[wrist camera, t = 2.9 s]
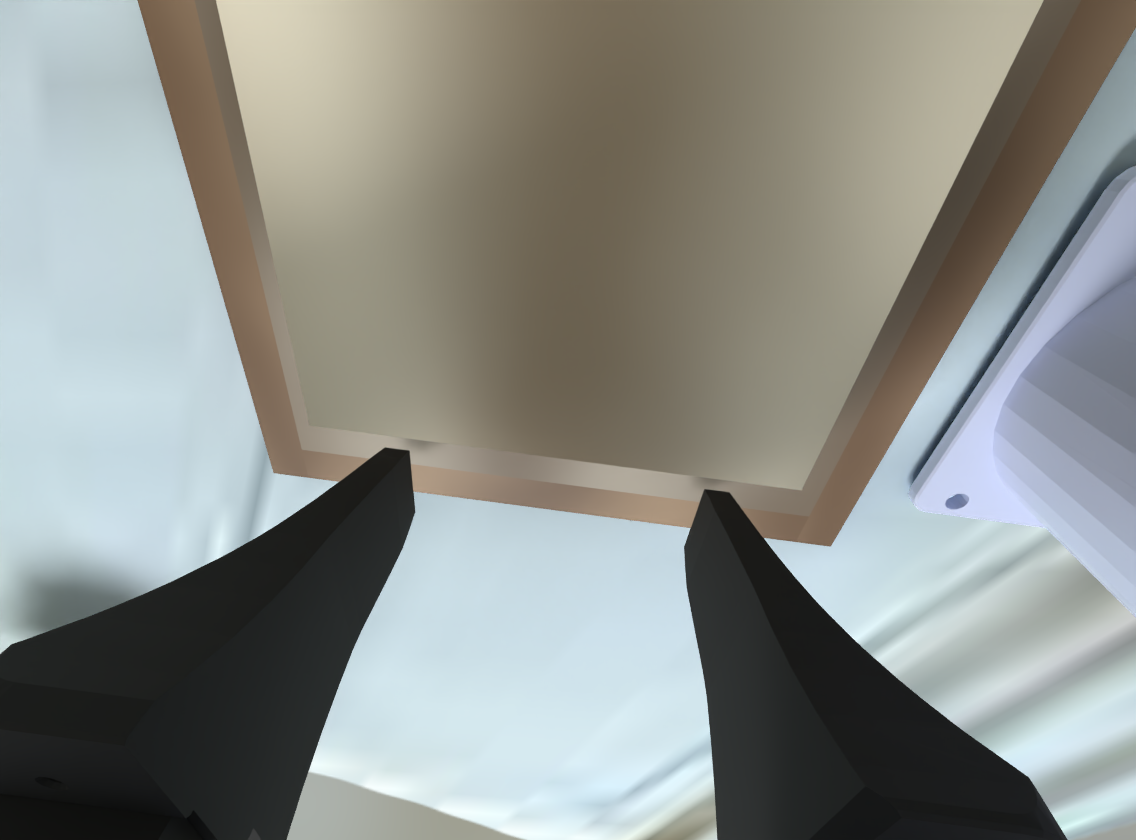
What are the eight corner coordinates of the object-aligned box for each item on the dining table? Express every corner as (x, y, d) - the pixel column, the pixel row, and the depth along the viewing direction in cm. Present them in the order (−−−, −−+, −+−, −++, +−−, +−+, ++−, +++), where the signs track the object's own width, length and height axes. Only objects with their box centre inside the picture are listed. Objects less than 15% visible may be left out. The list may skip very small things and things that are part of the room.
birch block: (921, -131, 7) (1213, -343, 4) (745, 373, 11) (801, 490, 8) (352, -205, 7) (106, -490, 4) (398, 328, 11) (309, 425, 8)
